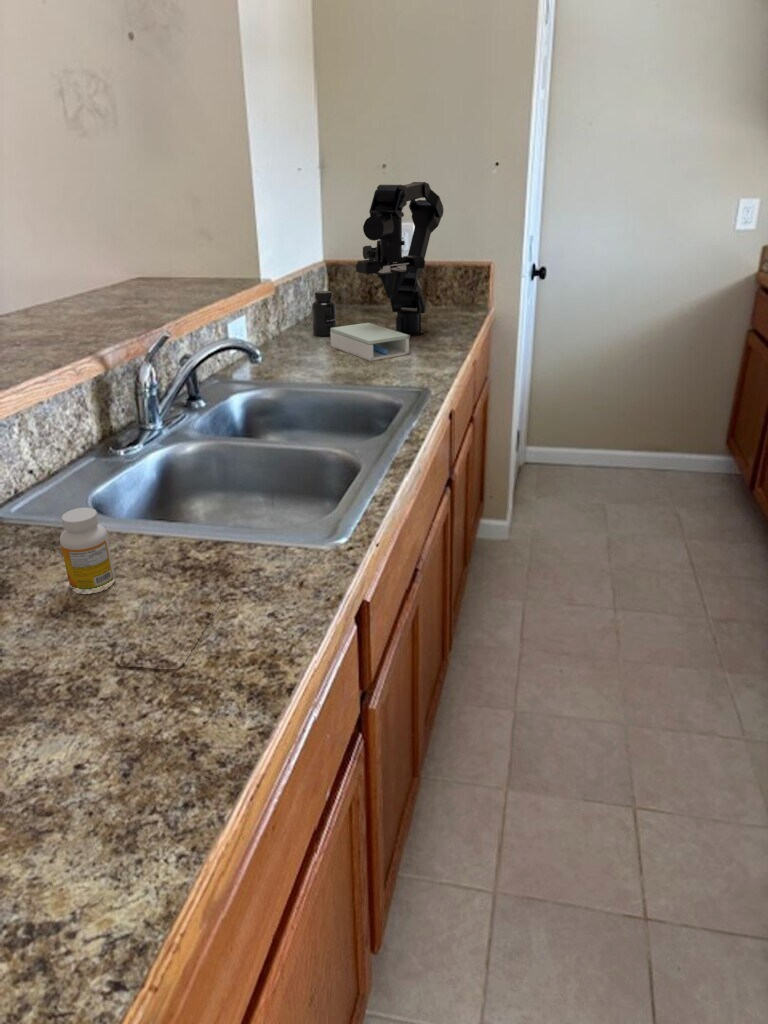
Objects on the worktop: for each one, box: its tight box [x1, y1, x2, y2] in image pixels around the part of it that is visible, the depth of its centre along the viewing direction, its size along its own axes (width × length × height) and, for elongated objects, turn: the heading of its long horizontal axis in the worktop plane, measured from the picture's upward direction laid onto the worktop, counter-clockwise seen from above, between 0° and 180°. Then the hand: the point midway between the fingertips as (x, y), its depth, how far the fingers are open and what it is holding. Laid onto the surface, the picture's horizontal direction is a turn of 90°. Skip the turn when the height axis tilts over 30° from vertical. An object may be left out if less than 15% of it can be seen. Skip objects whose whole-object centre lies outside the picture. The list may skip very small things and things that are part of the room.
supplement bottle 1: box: [59, 507, 116, 589], centre depth 93 cm, size 5×5×10 cm
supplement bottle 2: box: [311, 290, 337, 337], centre depth 219 cm, size 7×7×12 cm
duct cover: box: [331, 322, 411, 344], centre depth 202 cm, size 12×20×1 cm, turn 33°
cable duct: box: [329, 331, 410, 362], centre depth 203 cm, size 12×20×4 cm, turn 33°
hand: (391, 297), depth 207 cm, fingers closed
